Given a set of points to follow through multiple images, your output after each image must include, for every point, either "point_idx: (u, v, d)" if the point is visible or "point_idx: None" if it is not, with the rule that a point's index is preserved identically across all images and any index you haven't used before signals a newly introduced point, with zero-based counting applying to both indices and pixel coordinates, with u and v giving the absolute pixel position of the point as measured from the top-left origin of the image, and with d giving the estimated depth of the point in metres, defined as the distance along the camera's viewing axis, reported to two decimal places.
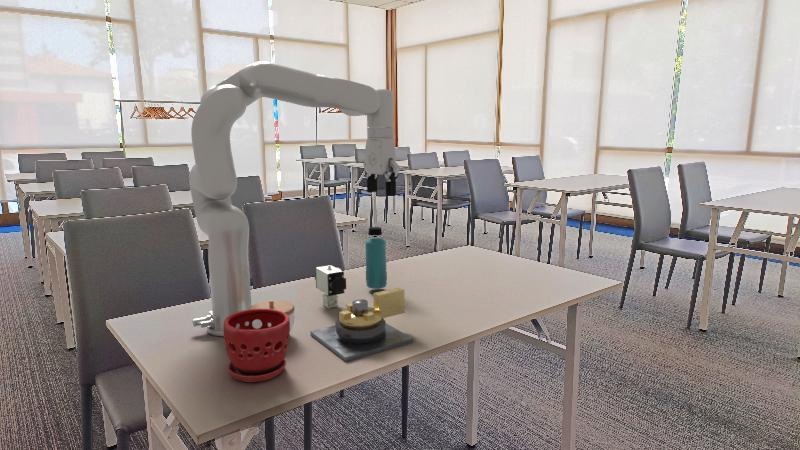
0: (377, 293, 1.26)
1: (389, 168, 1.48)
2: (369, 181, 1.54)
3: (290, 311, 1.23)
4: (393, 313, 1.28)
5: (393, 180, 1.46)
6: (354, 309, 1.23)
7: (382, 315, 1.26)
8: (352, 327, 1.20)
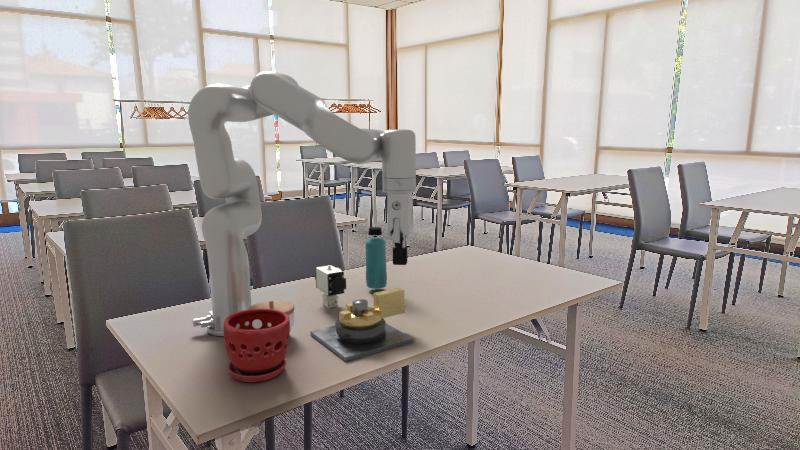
0: (377, 293, 1.26)
1: None
2: None
3: (290, 311, 1.23)
4: (393, 313, 1.28)
5: None
6: (354, 309, 1.23)
7: (382, 315, 1.26)
8: (352, 327, 1.20)
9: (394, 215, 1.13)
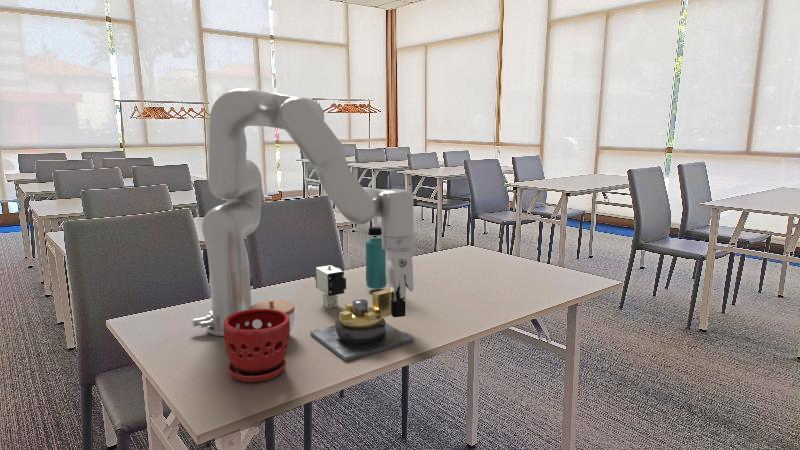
0: (376, 293, 1.27)
1: None
2: None
3: (290, 311, 1.23)
4: None
5: None
6: (354, 309, 1.22)
7: (381, 314, 1.27)
8: (354, 327, 1.20)
9: (400, 272, 1.19)
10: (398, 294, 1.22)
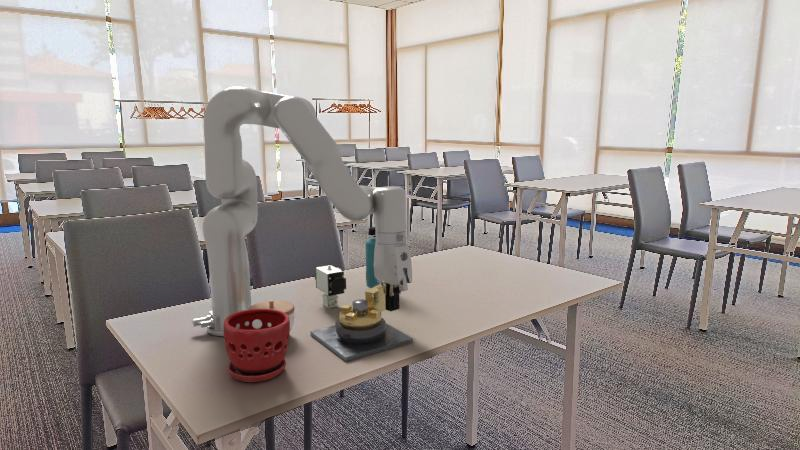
0: (369, 291, 1.28)
1: None
2: None
3: (290, 311, 1.23)
4: (382, 308, 1.32)
5: None
6: (357, 310, 1.22)
7: None
8: (363, 327, 1.20)
9: (403, 266, 1.24)
10: (398, 288, 1.26)
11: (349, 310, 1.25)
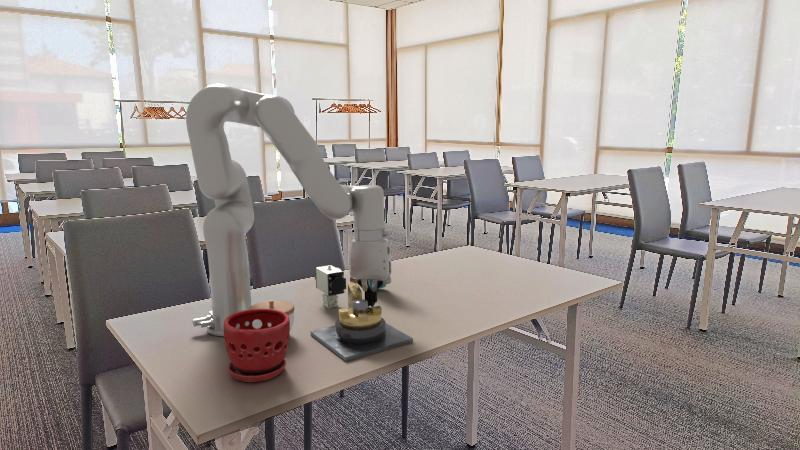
0: (355, 291, 1.28)
1: None
2: None
3: (290, 311, 1.23)
4: None
5: None
6: (362, 309, 1.22)
7: None
8: (376, 324, 1.21)
9: (389, 259, 1.30)
10: (382, 281, 1.31)
11: (347, 313, 1.23)
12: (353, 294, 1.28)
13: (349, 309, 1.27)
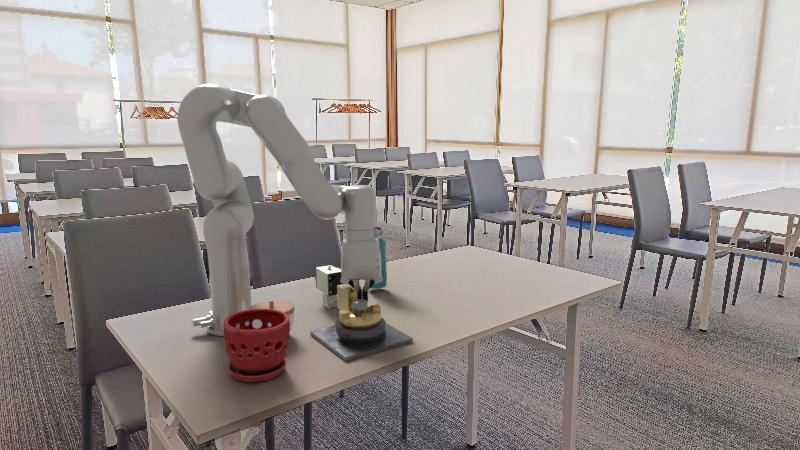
0: (350, 292, 1.28)
1: None
2: None
3: (290, 311, 1.23)
4: None
5: None
6: (364, 309, 1.22)
7: None
8: (379, 322, 1.22)
9: (380, 258, 1.31)
10: (374, 280, 1.32)
11: None
12: (349, 295, 1.27)
13: None
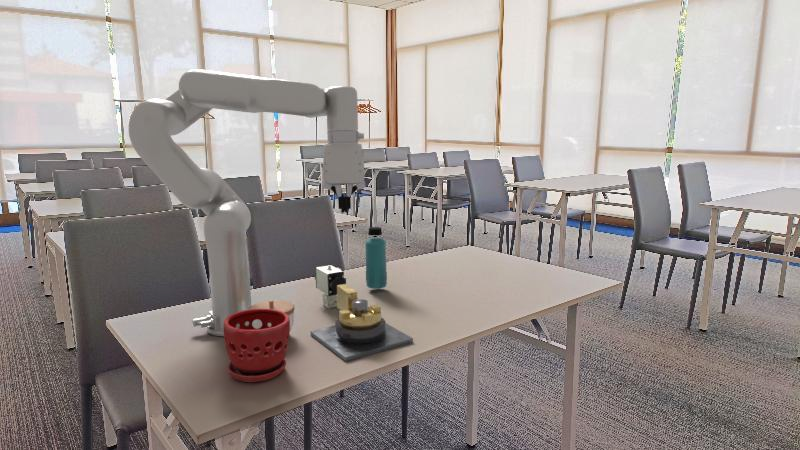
0: (350, 292, 1.28)
1: None
2: None
3: (290, 311, 1.23)
4: None
5: (337, 195, 1.30)
6: (364, 309, 1.22)
7: None
8: (379, 322, 1.22)
9: (363, 163, 1.29)
10: (356, 186, 1.30)
11: None
12: (349, 295, 1.27)
13: None
